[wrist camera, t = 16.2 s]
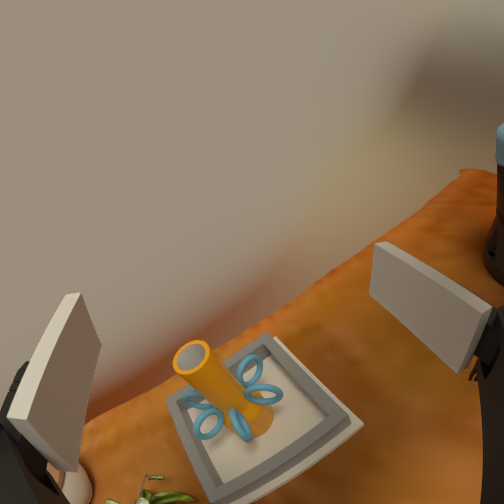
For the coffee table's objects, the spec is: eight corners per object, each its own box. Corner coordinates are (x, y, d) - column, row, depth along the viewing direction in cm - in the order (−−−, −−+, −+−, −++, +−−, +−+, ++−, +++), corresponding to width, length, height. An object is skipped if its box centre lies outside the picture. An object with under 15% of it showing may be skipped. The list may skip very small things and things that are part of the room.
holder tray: (277, 340, 44) (268, 324, 42) (364, 425, 28) (361, 414, 26) (173, 409, 40) (158, 397, 38) (224, 516, 23) (206, 513, 21)
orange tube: (256, 474, 26) (183, 434, 19) (199, 436, 33) (125, 381, 26) (310, 395, 33) (270, 323, 25) (249, 371, 40) (197, 301, 32)
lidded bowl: (53, 479, 31) (7, 452, 25) (91, 451, 36) (43, 420, 30) (70, 531, 21) (15, 509, 15) (113, 505, 26) (55, 481, 21)
